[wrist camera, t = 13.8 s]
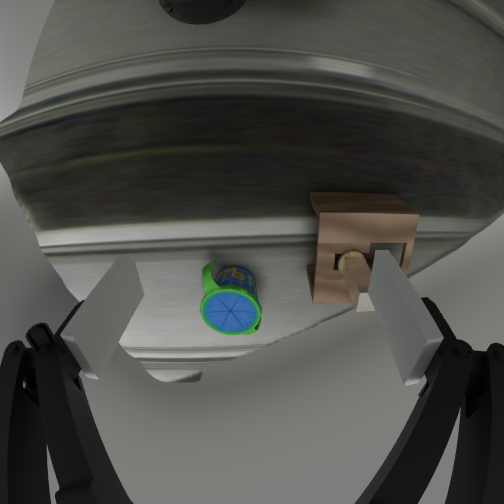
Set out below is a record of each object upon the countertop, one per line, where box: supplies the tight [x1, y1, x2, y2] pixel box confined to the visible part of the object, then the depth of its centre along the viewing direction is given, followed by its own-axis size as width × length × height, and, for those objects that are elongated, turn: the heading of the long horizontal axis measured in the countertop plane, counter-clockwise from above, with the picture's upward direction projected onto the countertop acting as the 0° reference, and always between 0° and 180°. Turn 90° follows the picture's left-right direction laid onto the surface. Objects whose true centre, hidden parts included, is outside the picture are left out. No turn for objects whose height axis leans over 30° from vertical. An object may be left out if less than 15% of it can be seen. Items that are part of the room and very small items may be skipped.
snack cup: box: [200, 261, 262, 335], centre depth 53 cm, size 16×10×10 cm
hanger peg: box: [335, 249, 375, 312], centre depth 41 cm, size 5×5×17 cm
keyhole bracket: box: [307, 192, 419, 304], centre depth 46 cm, size 16×16×10 cm
